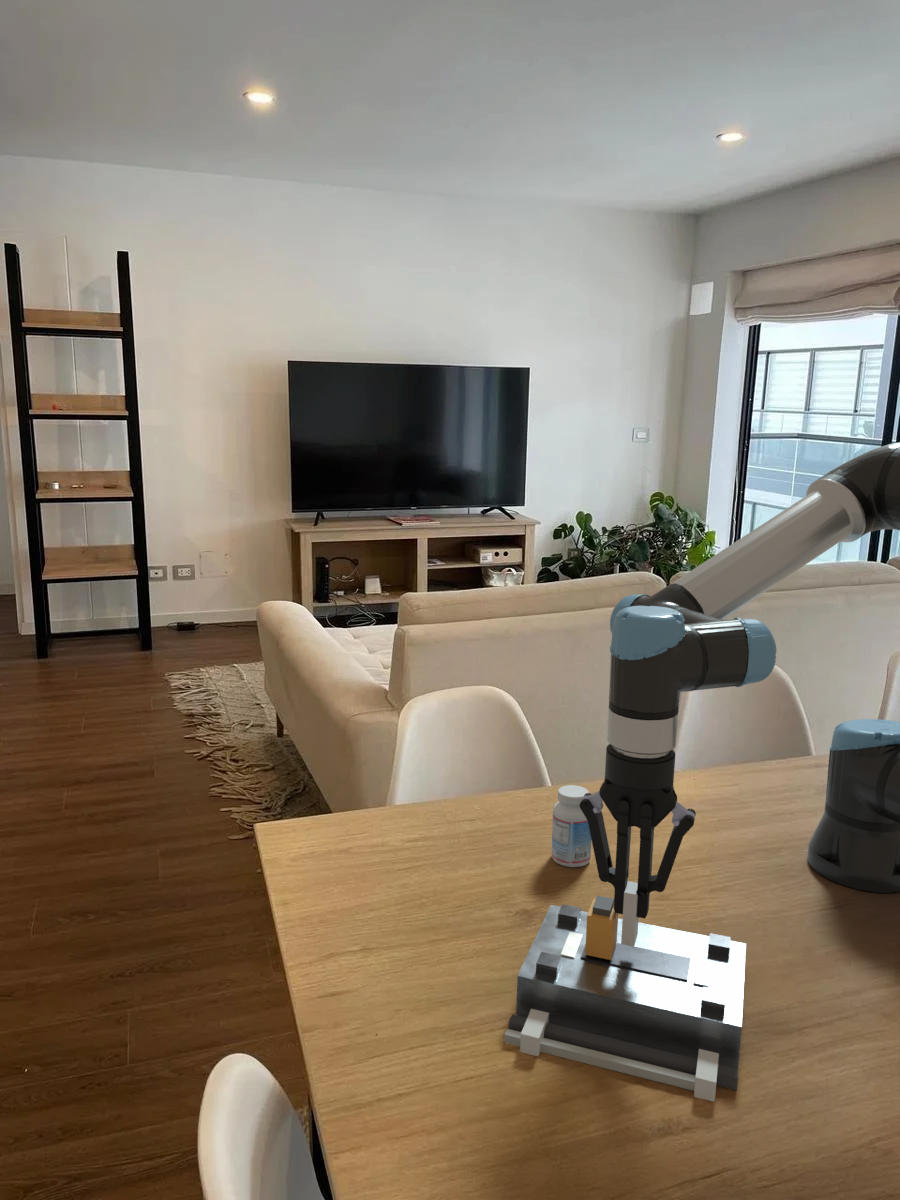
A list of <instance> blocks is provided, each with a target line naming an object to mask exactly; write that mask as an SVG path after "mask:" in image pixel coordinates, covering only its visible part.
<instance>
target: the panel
mask: <svg viewBox="0 0 900 1200" xmlns="http://www.w3.org/2000/svg"><path fill="white" fill-rule="evenodd" d="M588 912H589V911H584V910H582V907H579V906H574V905H569V904H563V903H562V904H561V905H560V906H558V905H552V904H550V905H549V908H548V910H547V912H546V914H545V916H544V917H543V921H542V923H541V925H540V926H539V927H540V928H539V929H538V932H537V933H536V936H535V937H534V940H533V942H532V944H531V946H530V948H529V950H528V953H527V955H526V957H525V959H524V961H523V963H522V965H521V967H520V970H519V971H518V974H517V978H516V1005H515V1006H516V1008H515V1011H516V1012H515V1015H518V1016H522V1017H526V1018H528V1015H529V1013H530V1010H531V1009H535V1010H539V1011H543V1012H547V1013H549V1022H548V1023H551V1024H555V1025H559V1026H563V1027H567V1028H571V1029H575V1030H579V1031H584V1032H588V1033H592V1034H596V1035H600V1036H604V1037H608V1038H612V1039H616V1040H621V1041H625V1042H629V1043H633V1044H637V1045H641V1046H645V1047H649V1048H654V1049H658V1050H662V1051H666V1052H670V1053H674V1054H678V1055H682V1056H687V1057H691V1058H695V1059H698V1052H699V1049H702V1050H706V1051H711V1052H715V1053H719V1058H718V1064H719V1065H724V1066H728V1067H732V1068H736V1069H738V1070H739V1064H740V1063H739V1062H740V1052H741V1049H740V1048H741V1039H742V1026H743V1010H744V991H745V990H744V989H745V973H746V972H745V970H746V952H747V943H745V942H740V941H736V940H731V936H727V935H722V934H716V933H711V932H709V935H705V934H700V933H695V932H689V931H685V930H678V929H674V928H670V927H669V928H668V927H664V926H659V925H654V924H648V923H643V922H639V921H638V935H637V938H636V942H635V945H634V947H633V946H628V945H623V944H621V938H622V920H623V918H620V917H618V928H617V942H616V946H615V949H614V952H613V955H612V959H611V960H608V959H603V958H599V957H594V956H589V955H585V948H586V928H587V914H588Z"/></svg>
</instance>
